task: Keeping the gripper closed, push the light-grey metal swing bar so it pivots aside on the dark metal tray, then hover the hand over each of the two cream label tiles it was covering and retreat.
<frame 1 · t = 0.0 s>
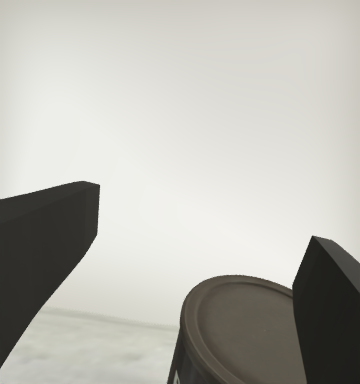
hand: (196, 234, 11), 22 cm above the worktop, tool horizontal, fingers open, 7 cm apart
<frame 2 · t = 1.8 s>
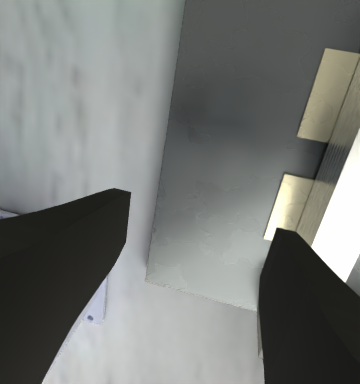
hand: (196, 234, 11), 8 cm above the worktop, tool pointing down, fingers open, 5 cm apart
chassis tray: (328, 175, 17), on the worktop
swing bar: (344, 192, 14), point 3 cm above the worktop, hinge at 0.0°
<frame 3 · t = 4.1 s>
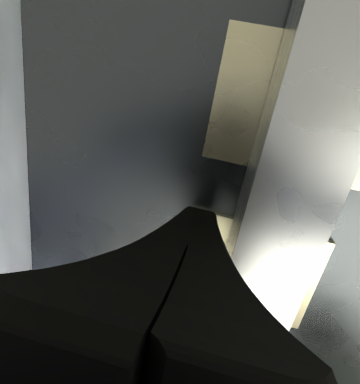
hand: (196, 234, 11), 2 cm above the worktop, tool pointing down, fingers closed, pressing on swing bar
chassis tray: (260, 208, 12), on the worktop
swing bar: (265, 245, 9), point 3 cm above the worktop, hinge at 0.0°, touching gripper
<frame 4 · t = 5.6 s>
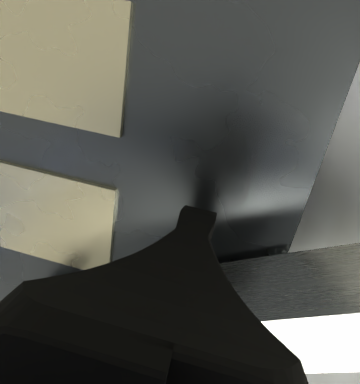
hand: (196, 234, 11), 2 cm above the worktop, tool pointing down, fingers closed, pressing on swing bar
chassis tray: (71, 164, 13), on the worktop
swing bar: (184, 317, 11), point 3 cm above the worktop, hinge at 62.4°, touching gripper
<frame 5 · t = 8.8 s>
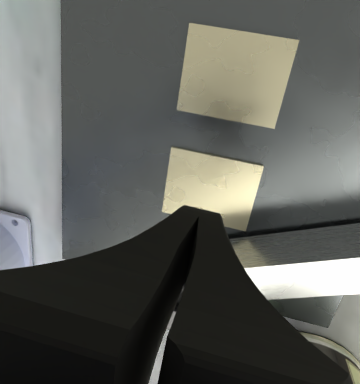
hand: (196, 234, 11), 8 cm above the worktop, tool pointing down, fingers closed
coffee can: (291, 379, 24), on the worktop
chassis tray: (218, 149, 18), on the worktop
swing bar: (317, 260, 16), point 3 cm above the worktop, hinge at 66.4°
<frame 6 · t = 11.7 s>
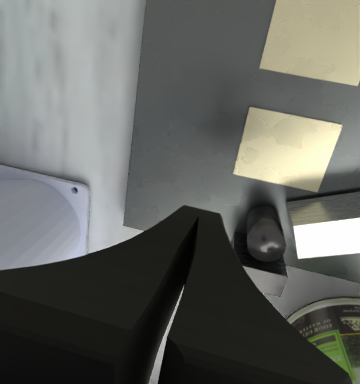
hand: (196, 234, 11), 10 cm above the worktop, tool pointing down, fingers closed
coffee can: (343, 348, 24), on the worktop
chassis tray: (292, 111, 18), on the worktop
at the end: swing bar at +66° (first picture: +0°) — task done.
